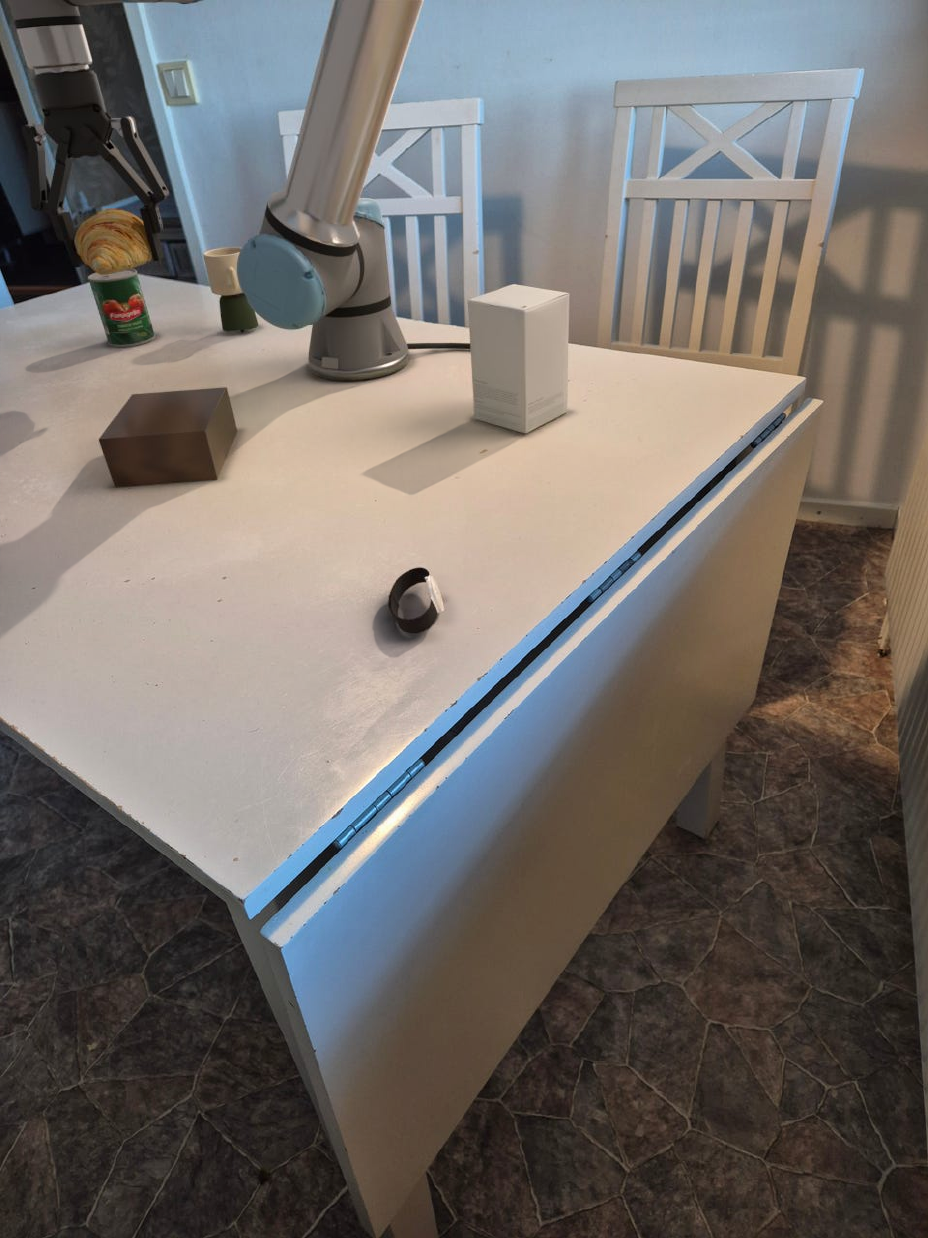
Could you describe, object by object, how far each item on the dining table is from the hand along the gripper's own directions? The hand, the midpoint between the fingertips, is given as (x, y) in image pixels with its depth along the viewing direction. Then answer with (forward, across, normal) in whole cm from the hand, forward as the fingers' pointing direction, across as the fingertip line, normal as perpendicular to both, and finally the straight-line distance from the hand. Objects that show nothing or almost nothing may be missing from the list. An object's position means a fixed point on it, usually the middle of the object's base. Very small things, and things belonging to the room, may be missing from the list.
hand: (119, 261), depth 113 cm
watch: (+18, -40, +65) cm, 78 cm away
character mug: (+18, -9, -25) cm, 32 cm away
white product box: (+18, -53, +22) cm, 61 cm away
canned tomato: (+17, +10, -24) cm, 31 cm away
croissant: (0, 0, 0) cm, 0 cm away
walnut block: (+18, -10, +28) cm, 35 cm away
